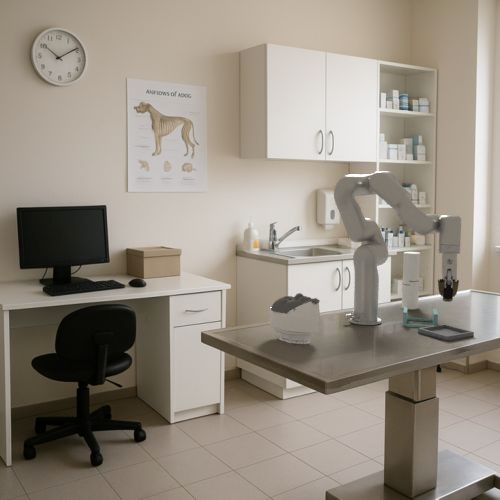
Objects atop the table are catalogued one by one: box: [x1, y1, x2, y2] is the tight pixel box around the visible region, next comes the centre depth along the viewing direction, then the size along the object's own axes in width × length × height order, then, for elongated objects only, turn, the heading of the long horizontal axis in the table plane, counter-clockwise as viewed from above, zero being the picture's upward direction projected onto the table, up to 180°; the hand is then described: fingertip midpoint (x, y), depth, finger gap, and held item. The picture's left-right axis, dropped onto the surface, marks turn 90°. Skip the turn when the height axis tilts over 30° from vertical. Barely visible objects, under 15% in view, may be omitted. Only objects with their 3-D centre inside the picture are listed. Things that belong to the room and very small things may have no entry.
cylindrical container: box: [401, 251, 421, 310], centre depth 274 cm, size 7×7×25 cm
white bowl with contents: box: [269, 292, 321, 345], centre depth 217 cm, size 13×17×20 cm
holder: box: [402, 307, 439, 328], centre depth 244 cm, size 12×13×6 cm
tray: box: [417, 323, 475, 342], centre depth 228 cm, size 14×14×2 cm
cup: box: [437, 278, 460, 303], centre depth 226 cm, size 8×7×8 cm
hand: (447, 296), depth 226 cm, fingers closed on cup, 7 cm apart
